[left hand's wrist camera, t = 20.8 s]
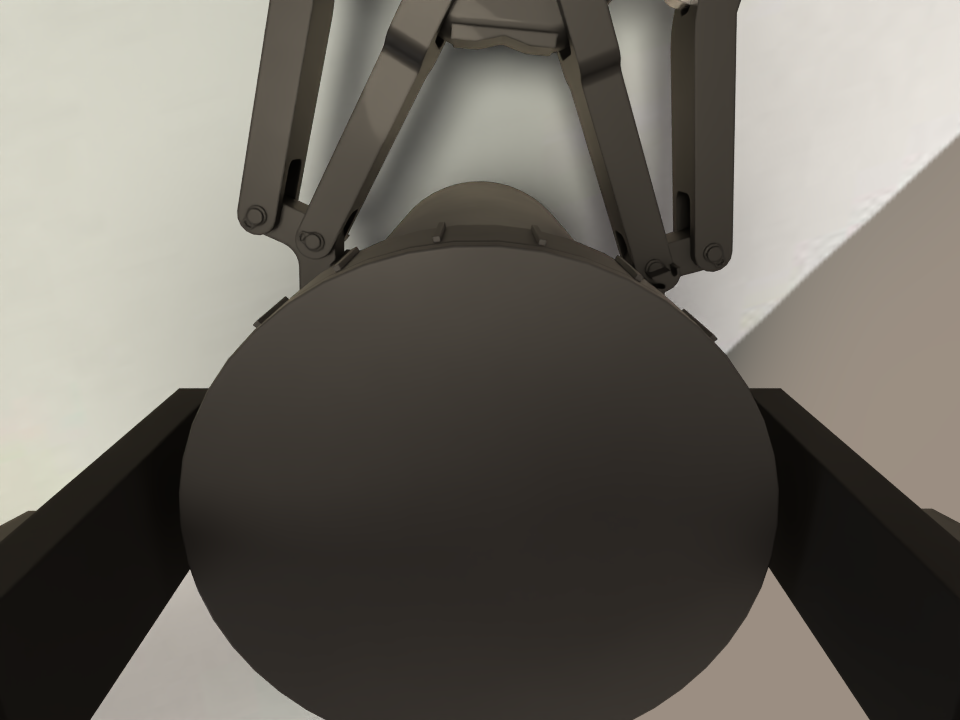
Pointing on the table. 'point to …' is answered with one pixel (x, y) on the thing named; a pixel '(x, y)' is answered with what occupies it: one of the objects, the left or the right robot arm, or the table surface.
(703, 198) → the right robot arm
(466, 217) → the jar
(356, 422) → the lid
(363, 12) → the table surface
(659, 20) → the table surface
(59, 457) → the table surface
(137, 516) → the left robot arm
